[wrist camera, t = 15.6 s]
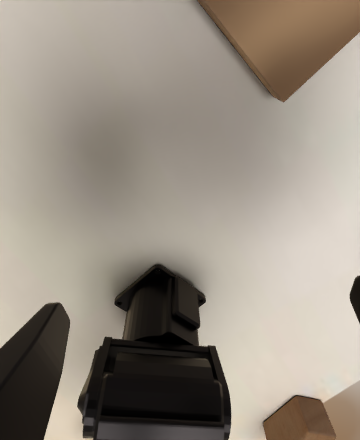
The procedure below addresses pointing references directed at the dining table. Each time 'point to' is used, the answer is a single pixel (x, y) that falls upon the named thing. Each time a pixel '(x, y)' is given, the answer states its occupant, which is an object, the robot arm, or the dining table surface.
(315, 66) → the walnut slab
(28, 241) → the dining table surface
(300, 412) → the wooden scoop
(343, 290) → the dining table surface
